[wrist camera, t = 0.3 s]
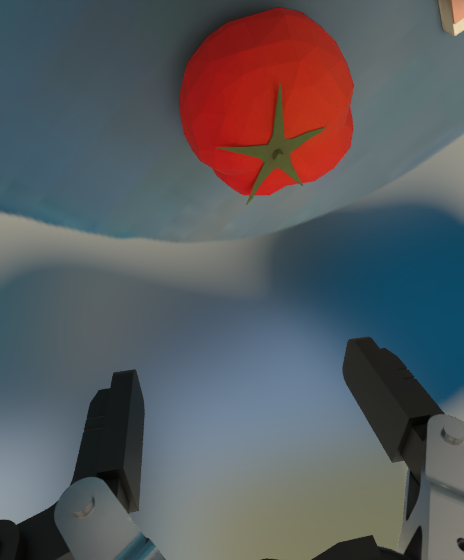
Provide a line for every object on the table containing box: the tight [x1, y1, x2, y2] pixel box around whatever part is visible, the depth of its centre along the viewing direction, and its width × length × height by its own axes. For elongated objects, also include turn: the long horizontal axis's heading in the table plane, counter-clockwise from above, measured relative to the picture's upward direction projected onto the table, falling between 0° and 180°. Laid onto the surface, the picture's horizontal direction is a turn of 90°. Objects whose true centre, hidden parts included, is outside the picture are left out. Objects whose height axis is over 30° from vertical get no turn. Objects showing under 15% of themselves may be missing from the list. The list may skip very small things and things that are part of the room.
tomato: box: [179, 7, 354, 205], centre depth 29 cm, size 16×14×14 cm
